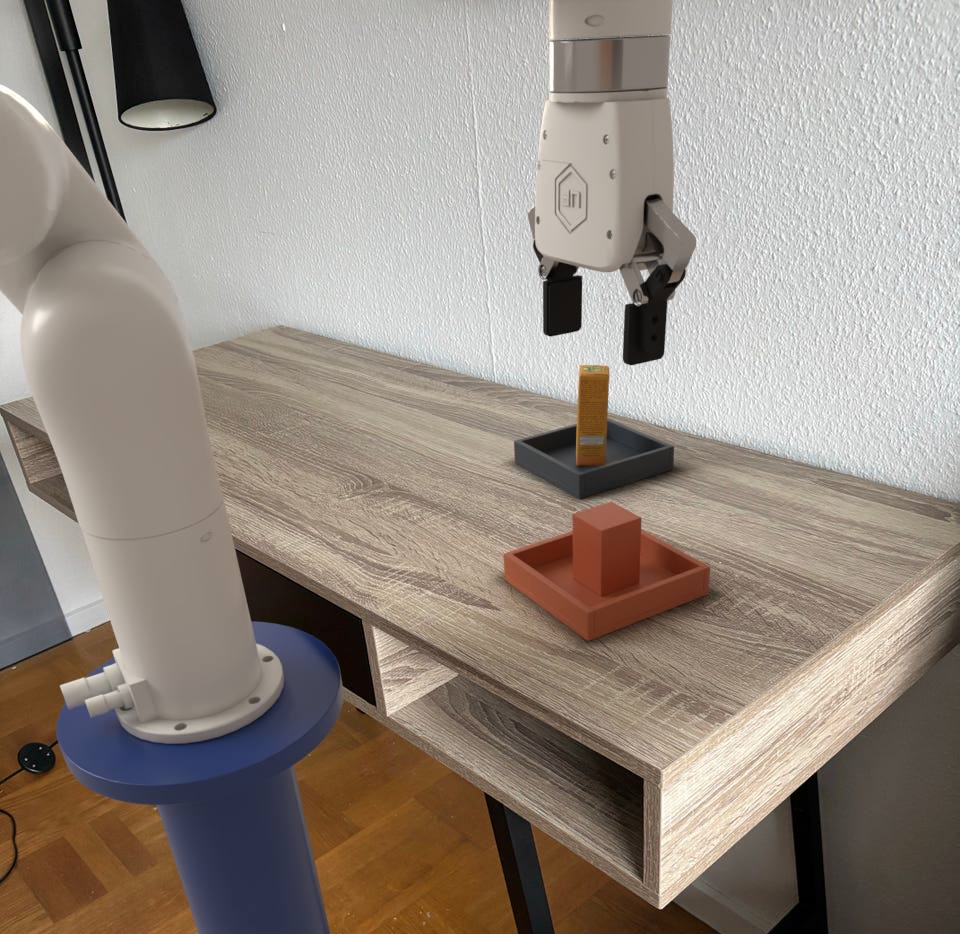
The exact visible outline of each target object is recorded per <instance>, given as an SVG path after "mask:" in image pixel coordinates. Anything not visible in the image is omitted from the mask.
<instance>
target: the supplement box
mask: <svg viewBox="0 0 960 934" xmlns="http://www.w3.org/2000/svg"><path fill="white" fill-rule="evenodd" d="M577 387H578V389H577V407H576V408H577V410H576V411H577V412H576V413H577V414H576V424H577V435H576V464H577V466H585V467H590V466H602V465H606V440H607V418H608V416H609V415H608V413H609V390H610V389H609V388H610V367H609V366H608V365H600V364H581V365H579V371H578V386H577Z"/></svg>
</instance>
